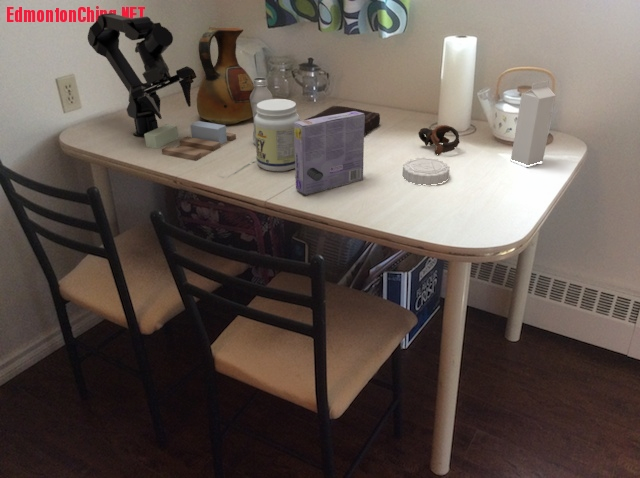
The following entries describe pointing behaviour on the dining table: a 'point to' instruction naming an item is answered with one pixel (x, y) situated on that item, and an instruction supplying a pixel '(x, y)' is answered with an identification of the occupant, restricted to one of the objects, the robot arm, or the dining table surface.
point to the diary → (370, 117)
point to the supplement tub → (275, 134)
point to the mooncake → (425, 171)
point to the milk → (533, 124)
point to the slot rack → (195, 147)
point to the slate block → (209, 131)
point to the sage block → (161, 136)
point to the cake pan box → (329, 151)
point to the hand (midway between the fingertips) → (175, 112)
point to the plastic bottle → (259, 97)
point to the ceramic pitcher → (223, 80)
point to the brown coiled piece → (439, 138)
